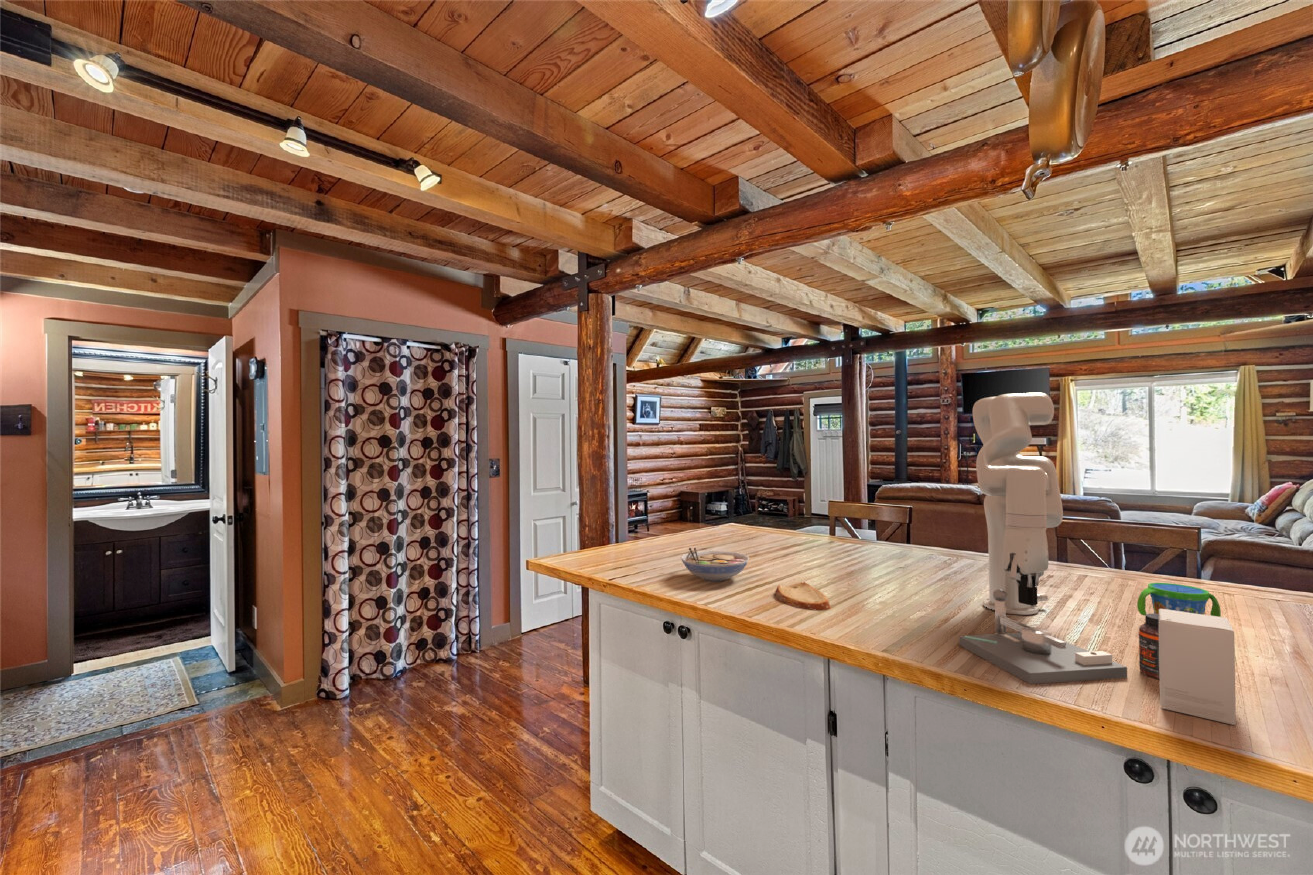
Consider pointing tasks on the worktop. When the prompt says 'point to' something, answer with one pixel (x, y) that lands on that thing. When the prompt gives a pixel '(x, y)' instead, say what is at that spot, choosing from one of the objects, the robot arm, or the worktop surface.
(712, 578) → the ramen bowl
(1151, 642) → the supplement bottle
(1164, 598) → the snack cup
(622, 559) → the worktop surface
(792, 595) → the bread slice
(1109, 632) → the worktop surface
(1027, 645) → the metal crank lever
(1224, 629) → the supplement box
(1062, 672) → the stand
